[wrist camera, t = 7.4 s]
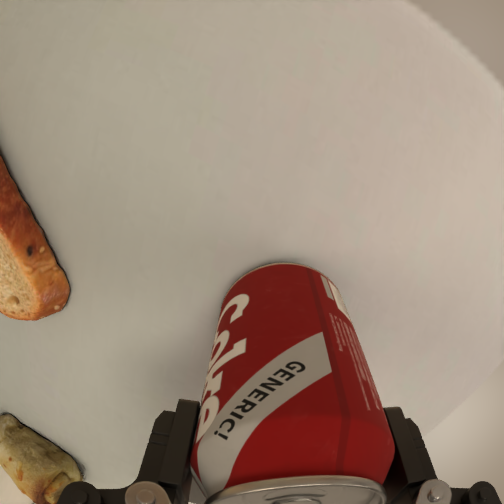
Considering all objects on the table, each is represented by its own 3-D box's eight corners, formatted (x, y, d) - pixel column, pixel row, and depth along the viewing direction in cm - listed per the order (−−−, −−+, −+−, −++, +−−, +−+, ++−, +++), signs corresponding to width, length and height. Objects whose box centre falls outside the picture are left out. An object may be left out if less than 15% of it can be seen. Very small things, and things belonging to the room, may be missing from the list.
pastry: (104, 486, 30) (89, 533, 23) (40, 469, 31) (22, 507, 24) (45, 420, 25) (15, 475, 18) (-16, 404, 26) (-44, 446, 19)
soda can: (342, 251, 17) (438, 448, 5) (339, 352, 19) (381, 531, 8) (213, 261, 17) (147, 470, 6) (230, 360, 20) (207, 543, 8)
